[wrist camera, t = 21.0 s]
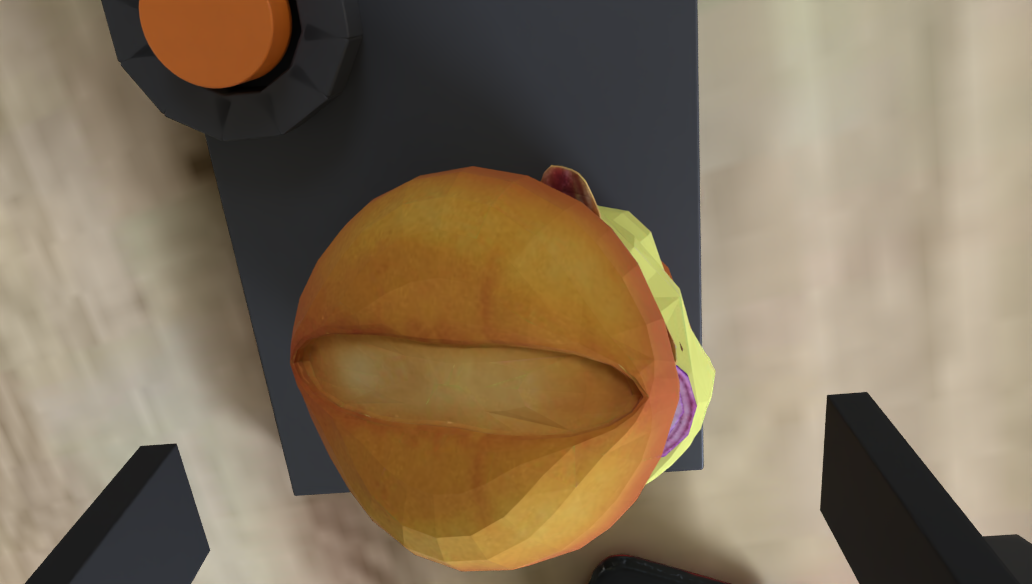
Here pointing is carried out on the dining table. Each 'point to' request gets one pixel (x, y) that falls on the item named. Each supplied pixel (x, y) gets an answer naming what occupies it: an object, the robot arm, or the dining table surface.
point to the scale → (436, 138)
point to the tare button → (217, 38)
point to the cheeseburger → (497, 364)
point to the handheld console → (643, 573)
